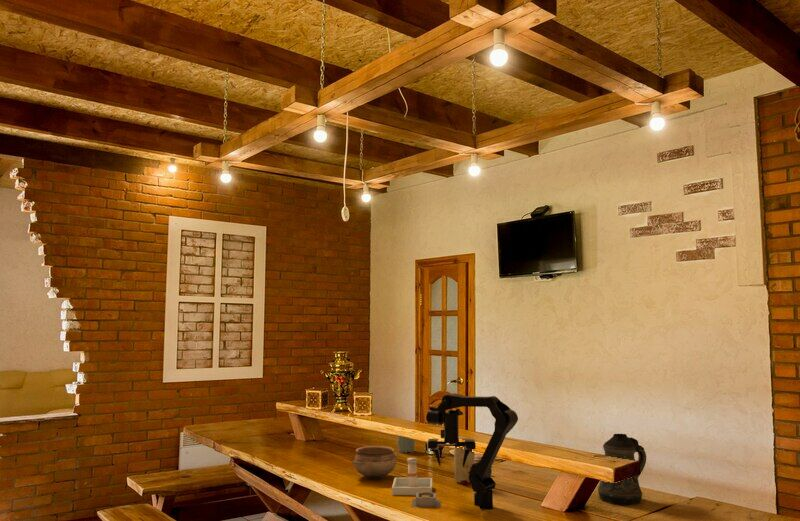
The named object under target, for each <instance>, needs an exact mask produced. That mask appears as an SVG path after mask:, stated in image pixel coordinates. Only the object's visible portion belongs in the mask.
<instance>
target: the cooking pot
mask: <svg viewBox="0 0 800 521" xmlns="http://www.w3.org/2000/svg"><path fill="white" fill-rule="evenodd" d="M355 451H356V454H355V456H354V460H352V461H351V464H353V465H354V468H355V470H356V471H357V472H358V473H359V474H360V475H362V476H363V477H366V478H367V479H369V480H381V479H383V478H384V477H386V476H388V475H390V473H392V472H393V471H394V470H395V468H396V466H397V457H398V454H397V453H394V452H395V448H393V447H390V446H383V445H368V446H360V447H358V448H356V449H355Z"/></svg>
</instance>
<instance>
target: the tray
mask: <svg viewBox="0 0 800 521" xmlns="http://www.w3.org/2000/svg"><path fill="white" fill-rule="evenodd" d="M417 486H418V487H408V477H394V479H393V483H392V486H391V495H392V496H394V495H395V496H416V493H419V492H422V491H430V492H433V477H417Z"/></svg>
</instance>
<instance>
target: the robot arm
mask: <svg viewBox="0 0 800 521" xmlns="http://www.w3.org/2000/svg"><path fill="white" fill-rule="evenodd" d="M463 407H465V408H467V407H469V408H470V407H473V408H475V407H476V408H487V409H489V411H490V414H491V416H492V417H493V418H494V419H495V421H494V431H493V433H492V435H491V438H490V439H489V441H488V444H487V445H486V448H485V450H484V452H483V455H482V456H481V459H480V461H478V462H475V463H474V464H472V467H471V470H470V471H469V472H468V473H470V474H469V477H468V479H469V481H470V483H471V484H470V485H471V489H472V492H474V493H473V504H474V506H476V507H477V506H478V507H479V510H493V509H494V500H493V493H494V492H493V491H494V489H495V488H496V485H497V483H496V481H495V480H494V479H493V478H492V466H493V464H494V461H495V459H496V457H497V455H498V453H499V452H500V449H501V447H502V445H503V443H504V440H505V439H506V436H507V435H508V434H509V433H510V432H511V430H513V429H514V427H515V425H516V424H517V423H518V421H519V417H518V414H517V412H516V411H514V410H513V409H511V408H510V407H509V406H508V405H507V404H505V403H504V402H503V401H501V399H499V398H498V397H497V396H495V395H492V396H471V395H470V396H468V395H467V396H466V395H464V394H459V393H455V392H453V393H449V394H447V393H446V394H444V395H443V396H442V398H441V402H440V403H439V404H438V406H429V409H428V411H427V413H426V416H425V417H426V418H425V419H426V422H427V423H428V424H430V425H431V424H432V425H441V426H442V425H443V429H440V439H443V441H442V440H441V441H439V440H438V438H429V439H428V440H427V449H430V451H431V452H433V453H434V455H435V457H436V460H437V464H438V466H439V467H441V457H440V456H441V454H440V449H439V448H440V447H454V446H463V447H464V456H463V467H464V465H465V462H466V459H467V456H468V454H469V452H470V451H472V449H474V450H476V449H477V448H476V445H477V444H476V441H475V439H474V438H471V439H465V442H459V437H460V436H459V435H460V434H459V433H460V432H459V416H462V415H464V412H463V411H462V410H460V408H463Z"/></svg>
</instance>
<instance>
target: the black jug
mask: <svg viewBox="0 0 800 521" xmlns="http://www.w3.org/2000/svg"><path fill="white" fill-rule="evenodd" d="M602 448H603V451H604V456H611V457H617V458H622V459H629V460H634V461H635V462H636V459H635V453H637V455H638V457H637V458H638V459H637V462H638V461H639V462H640V474H639V475H637V476H634V477H632V478H629V479H625V480H622V481H620V482H617V483H610V482H604V481H601V480H600V481H599V484H598V487H597V491H598V496H599V499H600V500H601V501H602V502H604V503H606V504H610V505H616V506H617V505H618V506H635V505H639V504H641V502H642V498H643V492H642V490H641V487H640V483H639V482H640V481H639V477H640V475H641V474H642V473H643V470H644V468H645V467H646V463H647V454H646V451H645V448H644V447H643V446H642V445H640V444H639V440H637V438H633V437H628V435H627V434H626V433H614V434H613V435H612V437H611V438H609V439H608V440H607V441H605V442H604V443H603V445H602Z"/></svg>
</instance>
